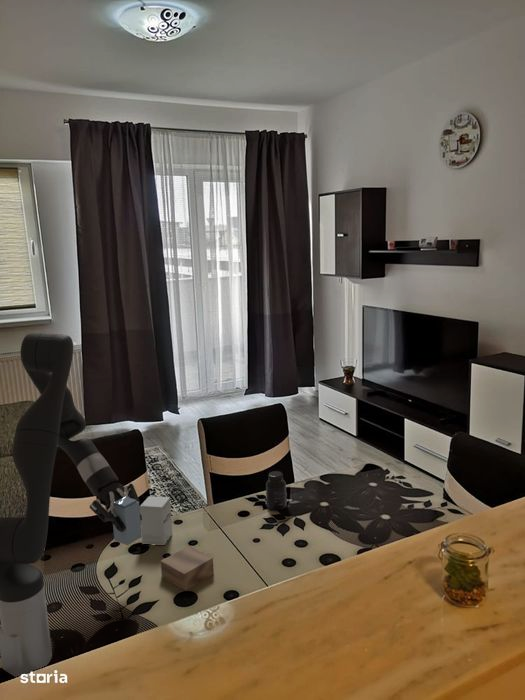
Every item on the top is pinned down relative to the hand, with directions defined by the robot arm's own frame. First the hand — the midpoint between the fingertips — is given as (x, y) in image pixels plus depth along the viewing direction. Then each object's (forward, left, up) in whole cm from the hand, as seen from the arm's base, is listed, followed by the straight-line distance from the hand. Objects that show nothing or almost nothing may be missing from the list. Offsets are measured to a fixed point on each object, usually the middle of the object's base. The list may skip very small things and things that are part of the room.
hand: (131, 525), depth 148 cm
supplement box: (+20, +12, -17) cm, 29 cm away
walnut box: (+10, -9, -17) cm, 22 cm away
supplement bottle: (+57, -8, -17) cm, 60 cm away
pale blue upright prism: (0, +2, -4) cm, 5 cm away
